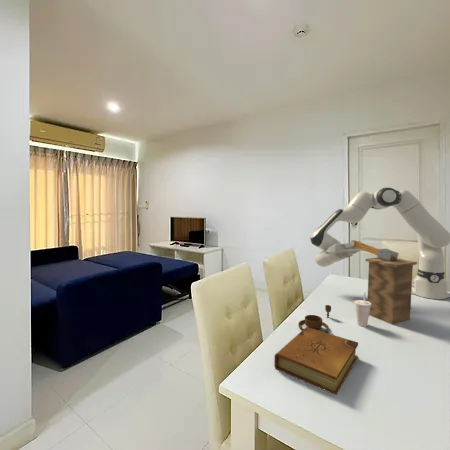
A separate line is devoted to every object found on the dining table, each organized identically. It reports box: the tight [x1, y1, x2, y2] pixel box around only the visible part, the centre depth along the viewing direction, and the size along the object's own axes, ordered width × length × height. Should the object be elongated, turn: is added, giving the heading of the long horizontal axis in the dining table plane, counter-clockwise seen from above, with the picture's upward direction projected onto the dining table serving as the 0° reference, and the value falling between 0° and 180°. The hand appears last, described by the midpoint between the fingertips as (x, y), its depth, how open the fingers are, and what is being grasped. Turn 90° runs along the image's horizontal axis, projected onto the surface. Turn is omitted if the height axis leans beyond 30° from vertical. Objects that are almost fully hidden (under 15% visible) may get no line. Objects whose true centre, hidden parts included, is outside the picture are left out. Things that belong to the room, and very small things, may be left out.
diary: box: [274, 326, 359, 395], centre depth 86 cm, size 23×19×6 cm
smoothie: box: [354, 291, 371, 328], centre depth 112 cm, size 6×6×14 cm
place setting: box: [297, 304, 334, 335], centre depth 111 cm, size 18×20×6 cm
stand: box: [365, 256, 418, 326], centre depth 119 cm, size 14×14×26 cm
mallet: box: [350, 239, 399, 261], centre depth 126 cm, size 22×5×4 cm, turn 25°
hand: (357, 242), depth 134 cm, fingers closed on mallet, 2 cm apart
